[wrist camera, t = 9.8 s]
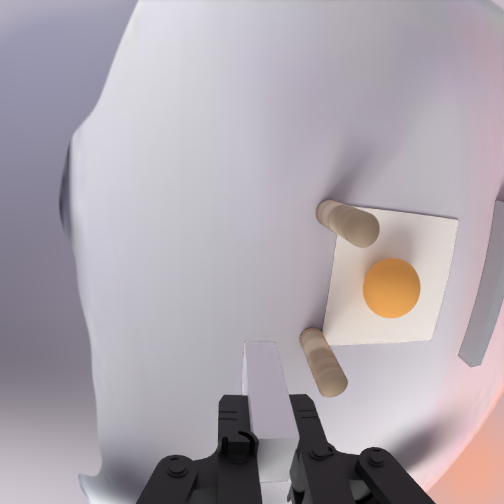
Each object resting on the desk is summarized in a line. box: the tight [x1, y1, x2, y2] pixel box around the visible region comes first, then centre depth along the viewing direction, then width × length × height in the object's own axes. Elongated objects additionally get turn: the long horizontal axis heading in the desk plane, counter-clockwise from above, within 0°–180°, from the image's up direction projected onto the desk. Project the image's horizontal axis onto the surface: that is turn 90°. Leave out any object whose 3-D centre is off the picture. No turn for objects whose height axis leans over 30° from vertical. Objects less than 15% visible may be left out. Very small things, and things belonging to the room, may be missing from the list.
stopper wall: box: [458, 200, 504, 367], centre depth 30 cm, size 20×2×3 cm, turn 176°
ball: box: [363, 258, 421, 318], centre depth 28 cm, size 6×6×6 cm
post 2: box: [316, 200, 380, 248], centre depth 24 cm, size 2×2×8 cm
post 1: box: [300, 327, 348, 397], centre depth 27 cm, size 2×2×8 cm
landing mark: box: [322, 206, 459, 346], centre depth 30 cm, size 14×14×1 cm
